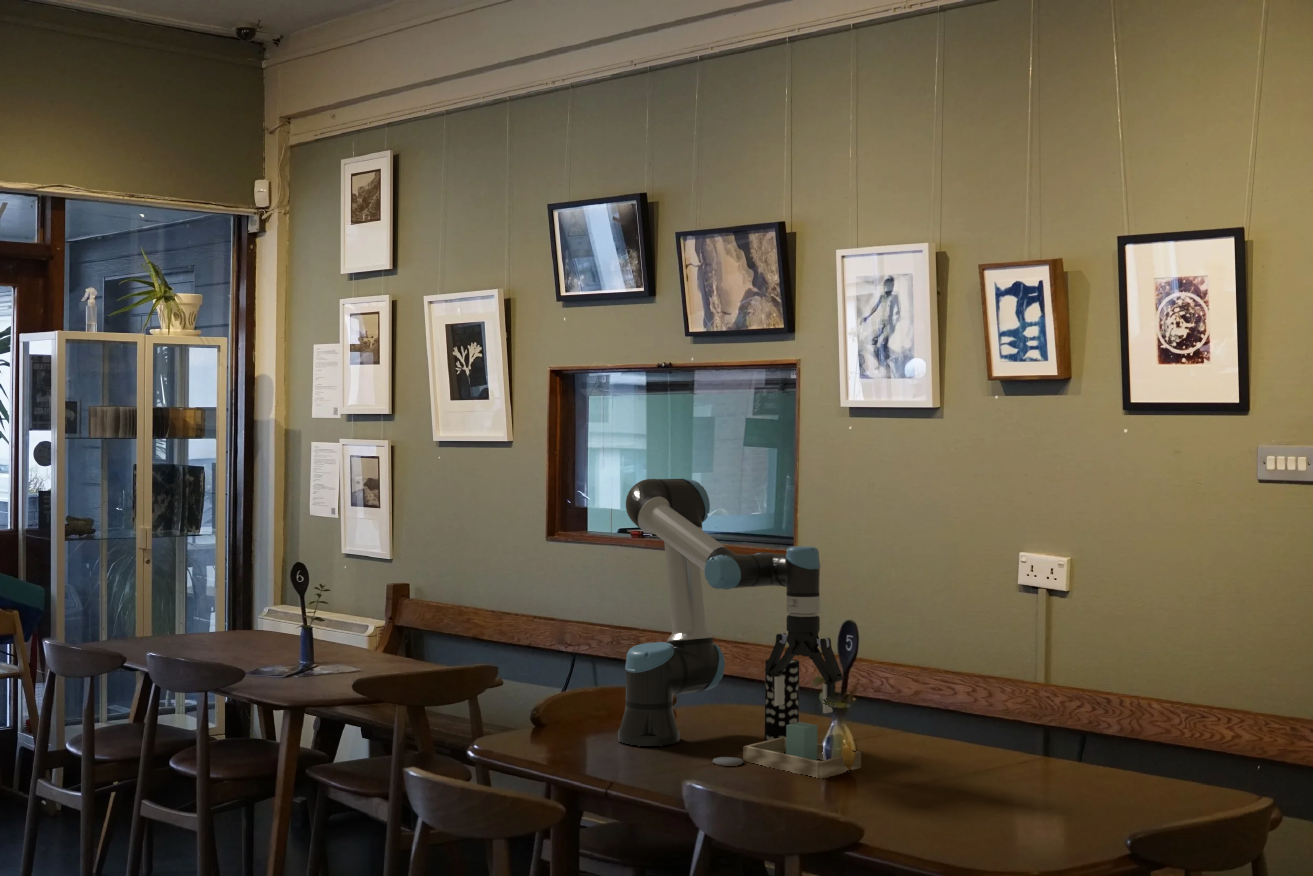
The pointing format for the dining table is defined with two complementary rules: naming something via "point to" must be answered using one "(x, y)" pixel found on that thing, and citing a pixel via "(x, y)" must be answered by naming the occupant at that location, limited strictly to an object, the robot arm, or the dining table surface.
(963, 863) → the dining table surface
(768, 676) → the white-spotted black cylinder
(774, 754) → the tray
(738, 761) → the coaster
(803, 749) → the block
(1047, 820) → the dining table surface
